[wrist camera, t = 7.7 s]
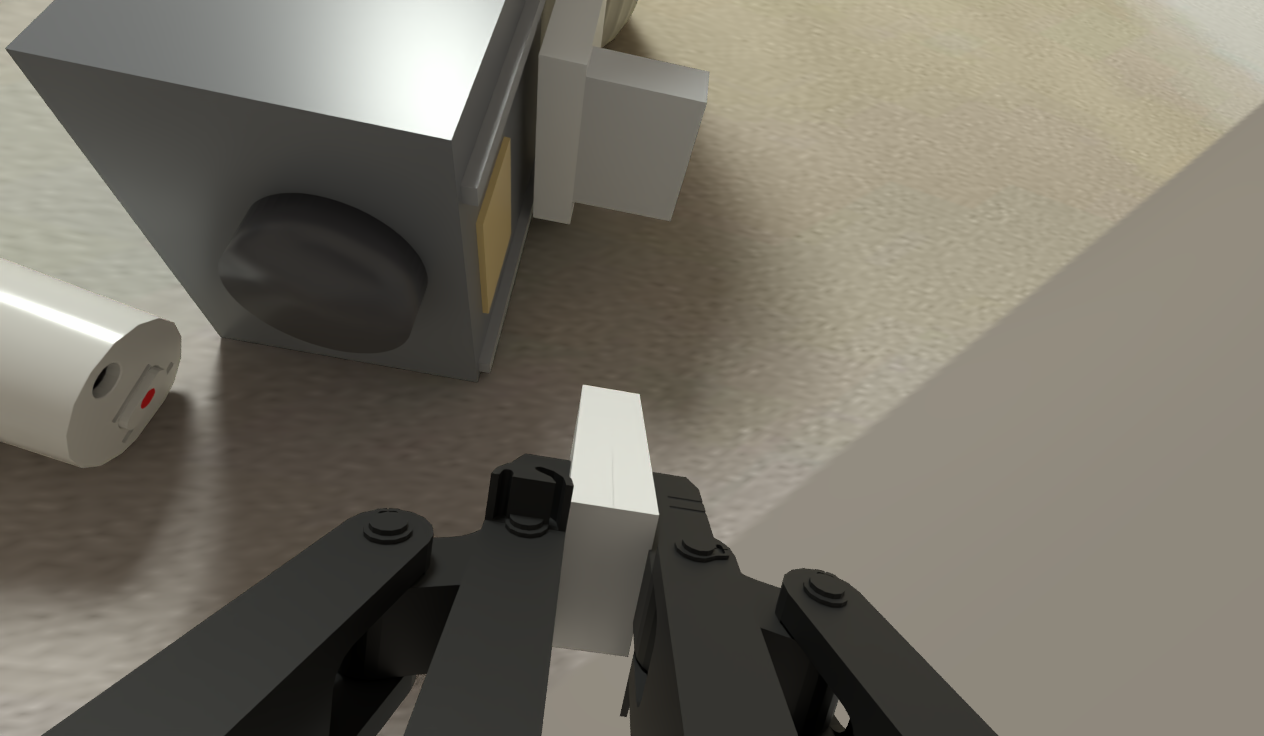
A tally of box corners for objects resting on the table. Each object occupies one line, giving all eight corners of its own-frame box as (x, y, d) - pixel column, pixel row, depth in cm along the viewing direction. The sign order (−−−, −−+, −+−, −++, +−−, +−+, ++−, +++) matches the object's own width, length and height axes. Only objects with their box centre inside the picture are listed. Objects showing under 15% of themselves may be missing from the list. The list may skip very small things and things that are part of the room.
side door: (532, 217, 26) (538, 54, 20) (556, 126, 28) (568, -41, 22) (663, 243, 26) (710, 92, 20) (674, 151, 29) (718, -6, 23)
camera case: (199, 376, 22) (-91, 50, 11) (331, 128, 28) (224, -224, 18) (478, 423, 22) (445, 159, 12) (544, 171, 29) (561, -142, 18)
